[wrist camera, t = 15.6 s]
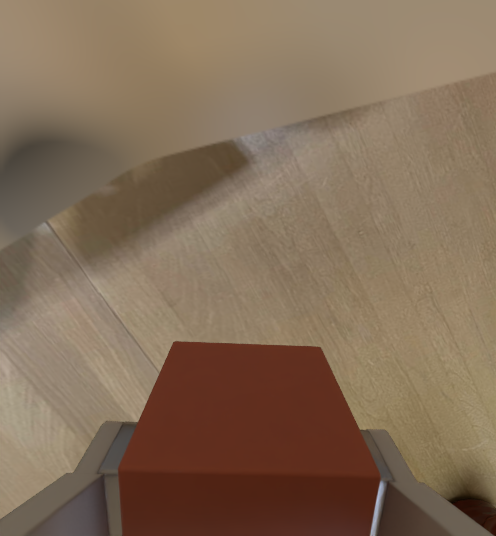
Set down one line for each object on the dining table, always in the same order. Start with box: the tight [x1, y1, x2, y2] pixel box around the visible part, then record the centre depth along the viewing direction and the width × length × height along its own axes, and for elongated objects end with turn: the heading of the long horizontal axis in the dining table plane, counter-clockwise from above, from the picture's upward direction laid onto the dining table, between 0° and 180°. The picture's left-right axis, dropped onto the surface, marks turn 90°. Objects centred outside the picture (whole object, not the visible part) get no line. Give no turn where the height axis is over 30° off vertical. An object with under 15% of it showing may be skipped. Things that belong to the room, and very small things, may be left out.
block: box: [118, 341, 381, 536], centre depth 8 cm, size 4×4×4 cm
